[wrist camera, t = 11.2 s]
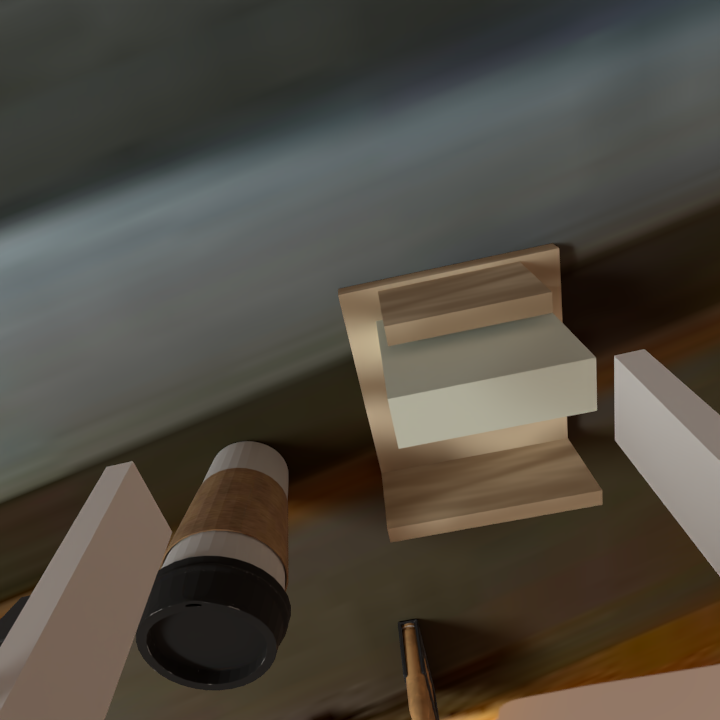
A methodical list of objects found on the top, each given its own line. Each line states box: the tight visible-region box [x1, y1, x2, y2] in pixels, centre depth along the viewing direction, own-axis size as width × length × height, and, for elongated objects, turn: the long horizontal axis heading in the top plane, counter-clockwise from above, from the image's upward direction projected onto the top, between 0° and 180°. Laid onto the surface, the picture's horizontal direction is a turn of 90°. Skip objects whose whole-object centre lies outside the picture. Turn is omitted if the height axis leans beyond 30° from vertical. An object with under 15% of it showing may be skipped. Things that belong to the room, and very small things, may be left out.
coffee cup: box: [136, 441, 291, 690], centre depth 35 cm, size 8×8×15 cm
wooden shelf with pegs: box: [338, 243, 602, 542], centre depth 35 cm, size 16×14×7 cm
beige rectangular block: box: [376, 313, 597, 449], centre depth 31 cm, size 3×10×10 cm, turn 102°
